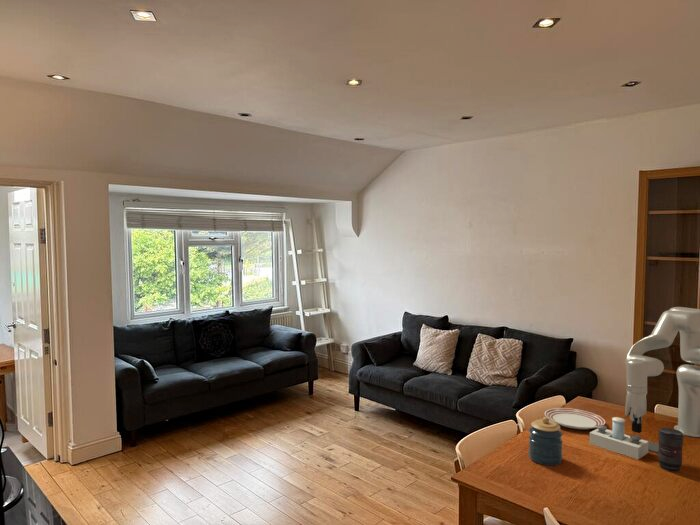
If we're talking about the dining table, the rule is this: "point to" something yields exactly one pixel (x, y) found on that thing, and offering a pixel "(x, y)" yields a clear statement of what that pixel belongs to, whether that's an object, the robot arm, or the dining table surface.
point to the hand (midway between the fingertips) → (636, 431)
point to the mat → (653, 447)
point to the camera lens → (670, 449)
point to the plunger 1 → (601, 428)
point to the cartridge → (618, 428)
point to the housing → (619, 444)
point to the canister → (545, 442)
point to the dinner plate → (574, 418)
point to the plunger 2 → (635, 439)
